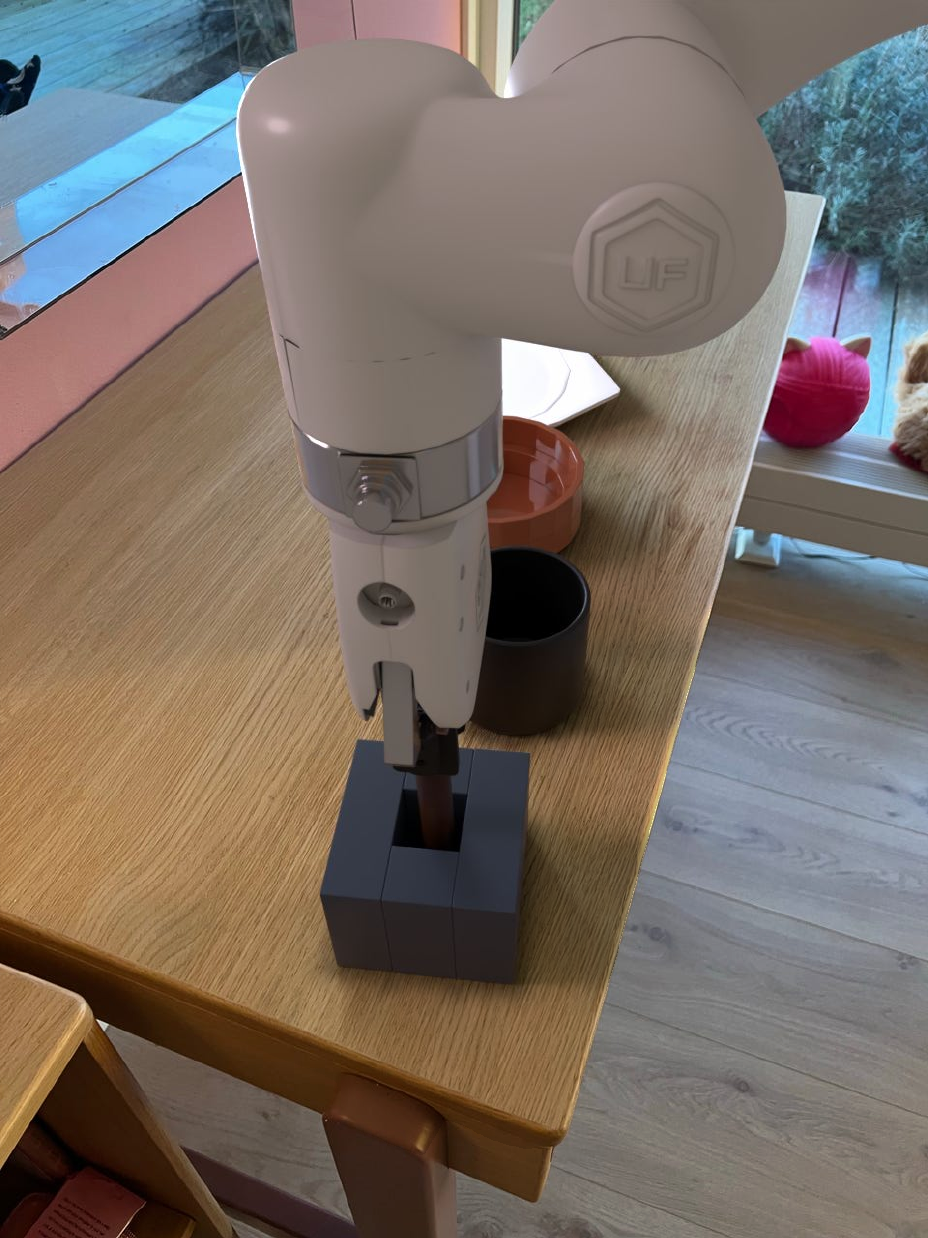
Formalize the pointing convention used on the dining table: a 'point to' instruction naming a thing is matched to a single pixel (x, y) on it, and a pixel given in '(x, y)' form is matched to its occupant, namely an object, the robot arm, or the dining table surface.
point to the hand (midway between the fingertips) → (430, 746)
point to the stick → (437, 812)
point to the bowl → (536, 488)
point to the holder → (429, 870)
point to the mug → (532, 642)
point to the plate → (551, 383)
